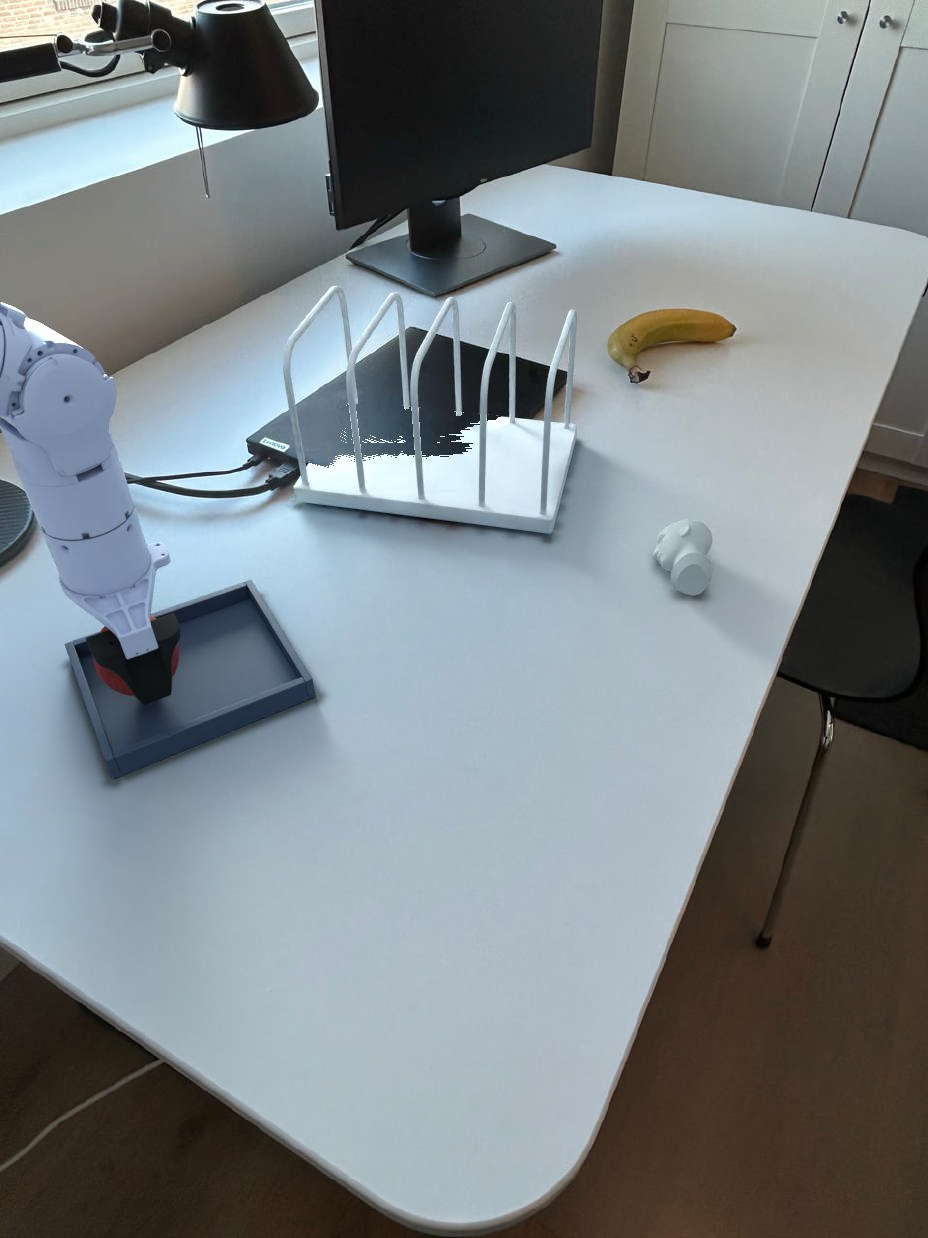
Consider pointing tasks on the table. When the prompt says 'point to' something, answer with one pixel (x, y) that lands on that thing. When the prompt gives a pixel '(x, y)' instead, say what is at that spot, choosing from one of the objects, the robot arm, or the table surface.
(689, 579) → the pale two-lobed sculpture
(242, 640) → the tray
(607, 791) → the table surface
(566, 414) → the file sorter
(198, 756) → the table surface
